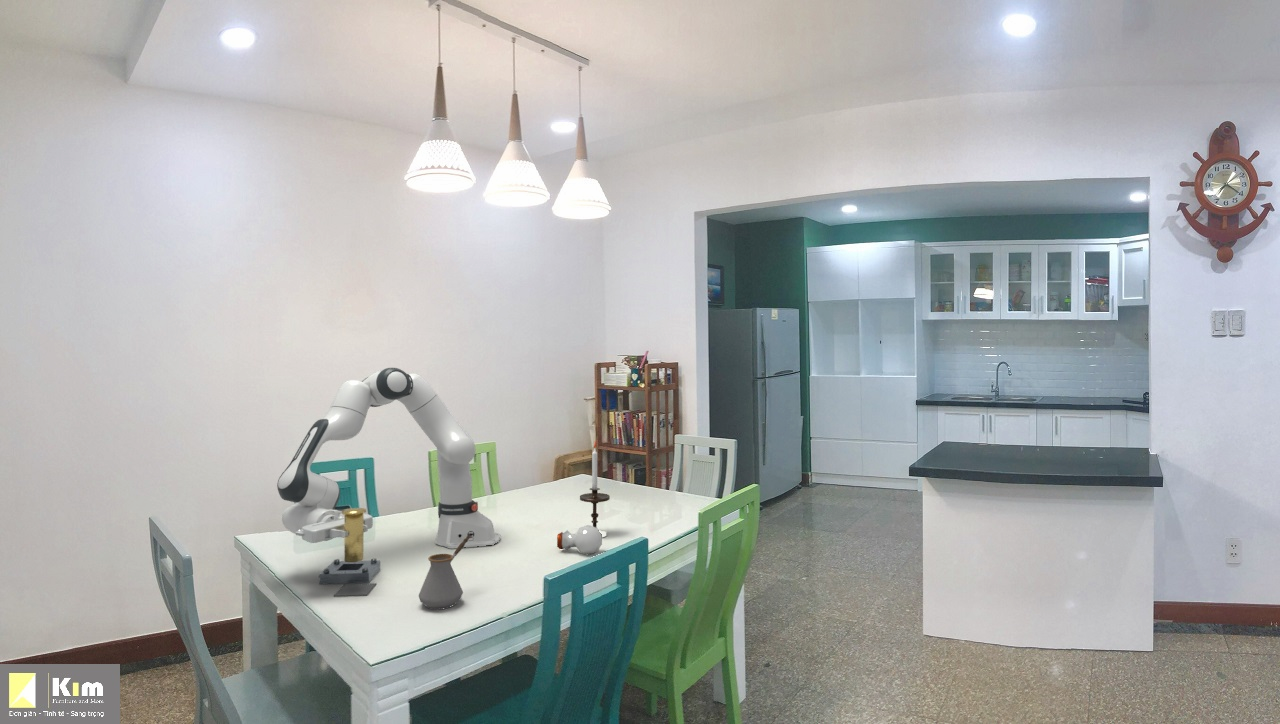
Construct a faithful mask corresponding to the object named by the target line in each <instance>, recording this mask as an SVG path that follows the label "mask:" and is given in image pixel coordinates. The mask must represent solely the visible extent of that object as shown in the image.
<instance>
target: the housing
mask: <svg viewBox="0 0 1280 724" xmlns="http://www.w3.org/2000/svg"><path fill="white" fill-rule="evenodd" d="M380 571H381V560H378V559H377V558H371V559H370V560H362V561H358V562H345V561H344V560H342V561H341V560H340V559H338V558H337V559H334V560H333V561H332V562H331V563H329V565H328V566H327V567H326V568H324V569H323V570H322V571H321V572H320V573H319V575H318V577H319V579H318V583H319V584H318V585H344V584H368V583H370V582H371V581H372V580H373V579H374V578H375V577H376V575H378V573H379V572H380Z"/></svg>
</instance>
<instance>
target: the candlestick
mask: <svg viewBox="0 0 1280 724" xmlns="http://www.w3.org/2000/svg"><path fill="white" fill-rule="evenodd" d="M597 441H598V440H597V439H596V440H595V441H594V445H593V452H591V468H592V469H591V470H592V472H591V483H592V484H591V488H589V490H590V491H591V492H590V493H588V492H587V493H584V494H581V495H579V500H580V501H581V502H586V503H591V504H592V513H591V514H590V517H591V518H592V520H591V523H592V526H593V527H596V528H597V529H598V526H597V523H599V520H598V517H599V513H598V512H597V507H598V506H597V504H599V503H604V502H607V501H609V500H611V499H610V494H608V493H602V492H598V491H599V490H601V488H599V487H598V451H597V449H596V447H597Z"/></svg>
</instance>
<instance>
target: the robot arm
mask: <svg viewBox="0 0 1280 724" xmlns="http://www.w3.org/2000/svg"><path fill="white" fill-rule="evenodd" d="M394 401H399V403H401V404H403V406H404V407H405V408H406V410H407V411H408V413H409V414H410V416H412V418H413V419H414V421H415V422H416V423H417V425H418V427H420V429H421V430H422V431H423V433H424V434H425V435H426V436H427V437H428V439H429V440H430V441H431V442H432V444H433V445H434V446H435V447H436V456H437V457H436V458H437V469H438V479H439V502H438V505H437V516H438V528H437V533H436V537H435V541H434V543H435V544H436V545H438V546H441V547H445V548H448V549H457V548H458V546H459V545H460V544H461V543H462V542H463V541H464V539H466V537H467V536H468V535H470V536H472V537H473V538H474V540H473V538H472V537H470V538H469V539H468V542H466V543H465V545H464V547H466V548H476V547H477V546H479V547H487V546H486V545H492V546H495V545H496V544H495V543H497V542H498V543H499V542H500V541H501V539H500V537H501V534H500V533H499V532H495V528H494V524H493V522H492V520H491V519H490V518H488V517H487V516H485V515H484V514H483V513H481V512H480V511H479V503H478V502H479V501H475V500H473V485H472V484H473V479H472V477H473V476H472V473H471V466H470V462H471V461H472V460H474V457H475V455H476V444H475V442H474V440H473V439H472V437H471V436H470V435H469V434H468V433H467V431H466V429H464V427H463V426H462V425H461V424H460V422H459V421H458V420H457V418H456V417H455V416H454V415H453V414H452V413H451V411H450V409H448V407H447V406H446V404H445V403H444V402H443V400H442V399H441V398H440V396H439V395H438V393H437V392H436V391H435V389H434V388H433V387H432V386H431V384H430V383H428V381H426V380H425V379H424V378H423V377H422V375H419V374H418V373H414V372H413V373H412V372H411V373H407V372H405V371H404V370H402V369H401V368H397V367H387V368H384V369H382V370H381V369H380V370H378V371H376V372H374V373H373V374H371V375H370V376H368V377H365V378H364V379H363V380H357V379H349V380H347V381H344V382H343V383H342V384H341V385H340V387H339V389H338V390H337V392H336V394H335V396H334V398H333V400H332V402H331V405H330V407H329V410H328V412H327V413H326V415H325V416H324V417H323V418H322V419H321V418H320V419H317V420H316V421H315V422H314V423H313V424H312V425H311V427H310V428H309V430H308V432H307V433H306V435H305V436H304V438H303V440H302V442H301V444H300V445H299V447H298V449H297V451H296V453H295V455H294V456H293V457H292V459H291V461H290V463H289V464H288V466H287V467H286V468H285V469H284V471H283V472H282V473H281V474H280V476H279V477H278V480H277V483H276V484H277V485H276V487H277V492H278V495H279V497H280V498H281V499H282V500H284V501H287V502H291V503H292V504H291V505H289V506H288V507H286V508H285V509H284V511H283V513H282V514H281V515H282V516H281V521H282V525H283V527H284V528H285V529H286V530H287V531H289V532H290V533H292V534H294V535H296V536H299V537H301V539H302V540H303V541H305V542H308V543H310V544H316V543H321V542H328V541H330V540H333V539H336V538H342V539H344V538H345V537H348V536H349V534H348V533H349V531H348V530H344V514H342V511H343V510H345V509H339V510H334V509H335V507H336V506H338V503H339V501H340V497H341V491H340V490H341V489H340V485H339V483H338V482H337V481H336V480H333V479H330V478H329V477H326V476H323V475H320V474H317V473H315V472H313V471H311V466H312V464H313V462H314V460H315V458H316V457H317V455H318V453H319V451H320V450H321V448H322V446H323V445H324V444H325V443H327V442H329V441H346V440H351V439H353V438H355V437H356V436H357V435H358V434H359V433H361V431H362V429H363V426H364V424H365V420H366V417H367V414H368V411H369V409H370V407H372V408H377V407H381V406H384V405H385V406H386V405H389V404H391V403H393V402H394ZM373 518H374V517H373V516H372V514H368V513H366V512H365V513H364V533H366V532H368V530H370V529H372V528H373V526H374V525H373V524H374V520H373ZM469 540H473V541H469ZM499 540H500V541H499ZM498 543H497V544H498ZM494 544H495V545H494ZM464 547H463V548H464ZM463 548H462V549H463Z"/></svg>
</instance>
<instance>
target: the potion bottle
mask: <svg viewBox="0 0 1280 724" xmlns="http://www.w3.org/2000/svg"><path fill="white" fill-rule="evenodd" d="M599 530H600V529H598V527H597V528H596V527H593V525H589V524H588V525H584V526H581V527H579V528H578V530H577V531H576V533H571V532H570V531H569V530H568V529H567V530H566V531H564V532H563V531H561V532H559V533H558V534H557V538H556V541H557V542H556V547H557V549H559V550H560V549H563V550H565V551H566V550H568V551H570V549H571V548H576V549H577V551H578V552H579V553H582V554H583V553H584V555H586V554H588V556H589V555H592V554H594V553H598V551H599V549H600V548H601V547H602V546H603V538H602V534H601V533H600V532H599Z"/></svg>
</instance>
